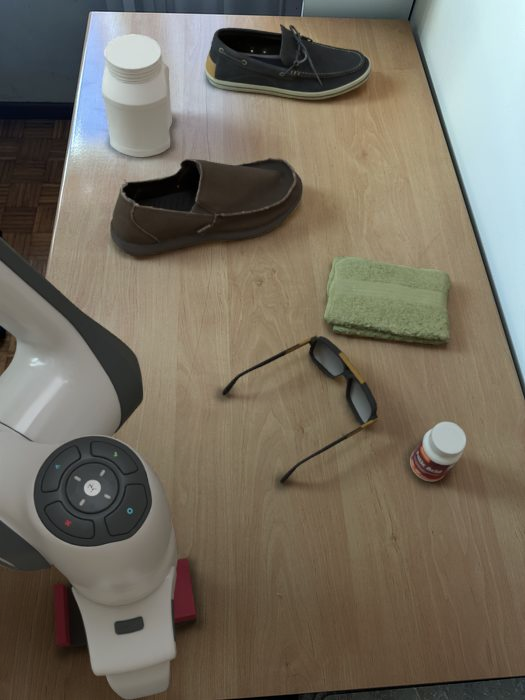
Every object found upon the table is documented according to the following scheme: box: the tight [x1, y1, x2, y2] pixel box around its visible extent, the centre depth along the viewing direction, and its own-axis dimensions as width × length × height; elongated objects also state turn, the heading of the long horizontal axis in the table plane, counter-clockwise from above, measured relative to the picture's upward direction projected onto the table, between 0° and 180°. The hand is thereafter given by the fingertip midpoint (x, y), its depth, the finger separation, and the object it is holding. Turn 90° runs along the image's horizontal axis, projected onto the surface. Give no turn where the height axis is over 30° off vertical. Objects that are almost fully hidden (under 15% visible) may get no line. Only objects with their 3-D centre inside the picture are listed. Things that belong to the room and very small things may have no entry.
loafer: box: [109, 157, 304, 257], centre depth 96 cm, size 11×30×11 cm, turn 116°
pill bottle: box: [409, 421, 467, 483], centre depth 79 cm, size 5×5×8 cm
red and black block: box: [52, 557, 198, 651], centre depth 70 cm, size 14×6×4 cm, turn 102°
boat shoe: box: [204, 23, 373, 101], centre depth 115 cm, size 11×29×9 cm, turn 89°
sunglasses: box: [221, 334, 381, 484], centre depth 83 cm, size 14×15×5 cm
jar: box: [101, 33, 173, 158], centre depth 103 cm, size 12×10×15 cm
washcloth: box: [323, 256, 452, 346], centre depth 93 cm, size 13×18×3 cm
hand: (139, 588), depth 66 cm, fingers open, 8 cm apart
